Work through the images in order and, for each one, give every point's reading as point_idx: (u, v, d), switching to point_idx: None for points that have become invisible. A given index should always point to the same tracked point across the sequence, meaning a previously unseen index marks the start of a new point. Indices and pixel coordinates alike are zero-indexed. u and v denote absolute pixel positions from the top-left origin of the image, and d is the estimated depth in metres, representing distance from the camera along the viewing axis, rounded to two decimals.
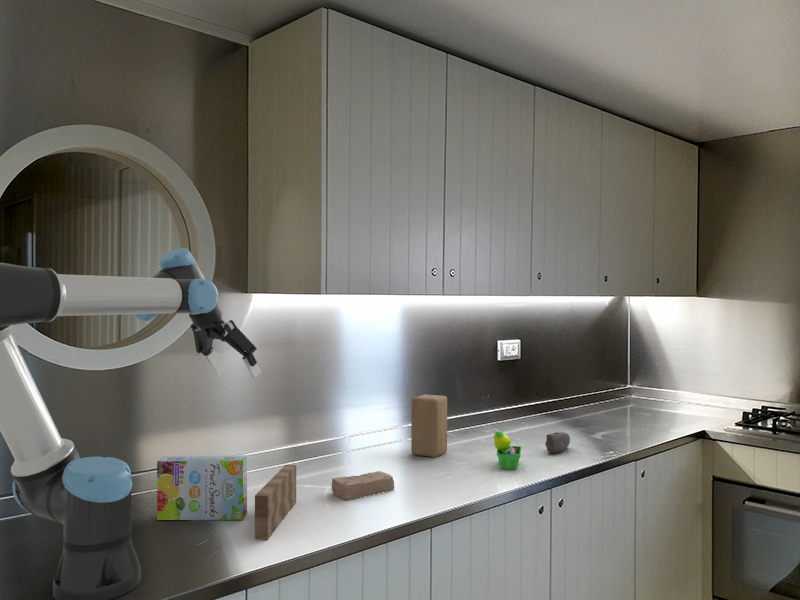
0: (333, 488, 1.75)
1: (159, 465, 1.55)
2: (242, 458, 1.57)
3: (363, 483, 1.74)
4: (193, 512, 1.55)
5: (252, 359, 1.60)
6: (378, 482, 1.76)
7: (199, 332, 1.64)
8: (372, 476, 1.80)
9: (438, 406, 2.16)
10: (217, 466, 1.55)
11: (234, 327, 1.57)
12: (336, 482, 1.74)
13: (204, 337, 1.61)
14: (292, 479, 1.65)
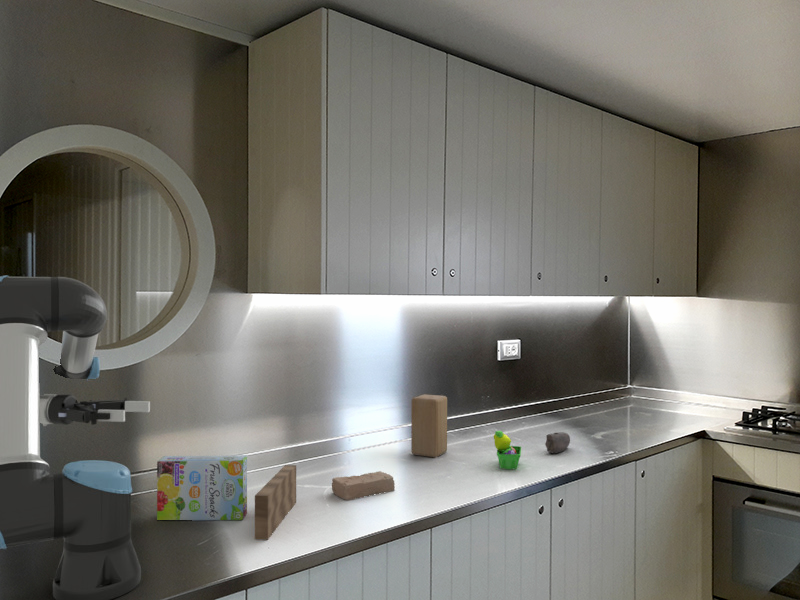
0: (333, 488, 1.75)
1: (159, 465, 1.55)
2: (242, 458, 1.57)
3: (363, 483, 1.74)
4: (193, 512, 1.55)
5: None
6: (379, 482, 1.76)
7: None
8: (372, 476, 1.80)
9: (438, 406, 2.16)
10: (217, 466, 1.55)
11: None
12: (336, 482, 1.74)
13: (80, 405, 1.57)
14: (292, 479, 1.65)
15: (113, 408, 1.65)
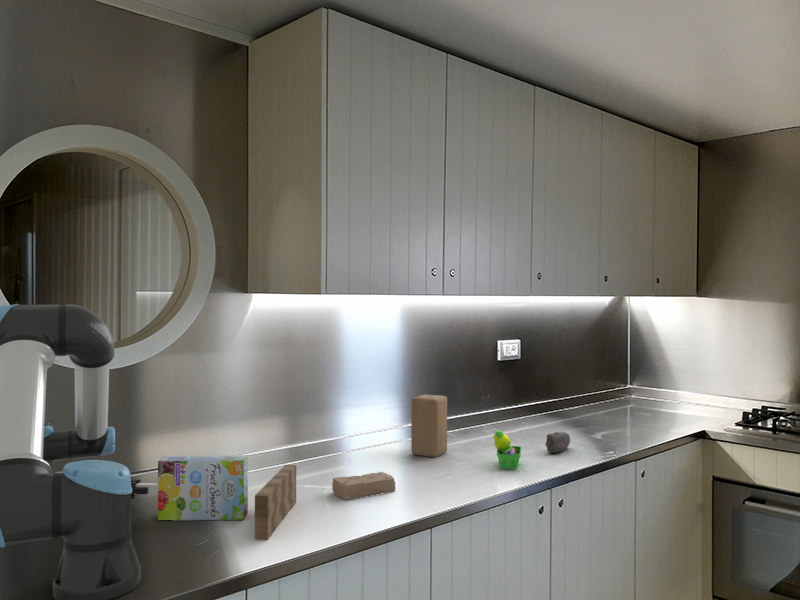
0: (333, 488, 1.76)
1: (160, 465, 1.55)
2: (243, 458, 1.57)
3: (362, 483, 1.73)
4: (194, 512, 1.55)
5: None
6: (379, 482, 1.76)
7: None
8: (373, 477, 1.79)
9: (438, 406, 2.16)
10: (218, 466, 1.55)
11: None
12: (336, 482, 1.75)
13: None
14: (292, 479, 1.65)
15: None
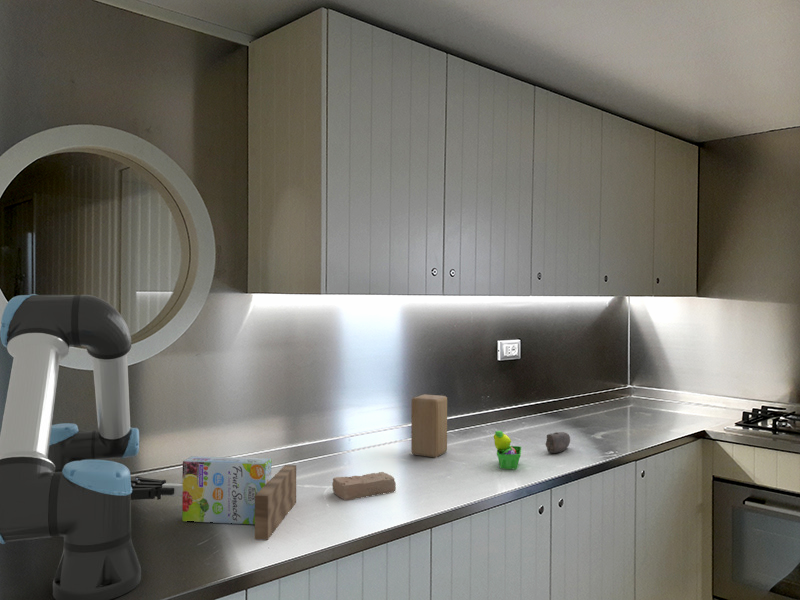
0: (333, 487, 1.76)
1: (184, 465, 1.54)
2: (265, 462, 1.53)
3: (362, 483, 1.73)
4: (216, 514, 1.53)
5: None
6: (379, 483, 1.75)
7: None
8: (374, 477, 1.79)
9: (438, 406, 2.16)
10: (240, 468, 1.52)
11: None
12: (336, 482, 1.75)
13: None
14: (292, 479, 1.65)
15: None
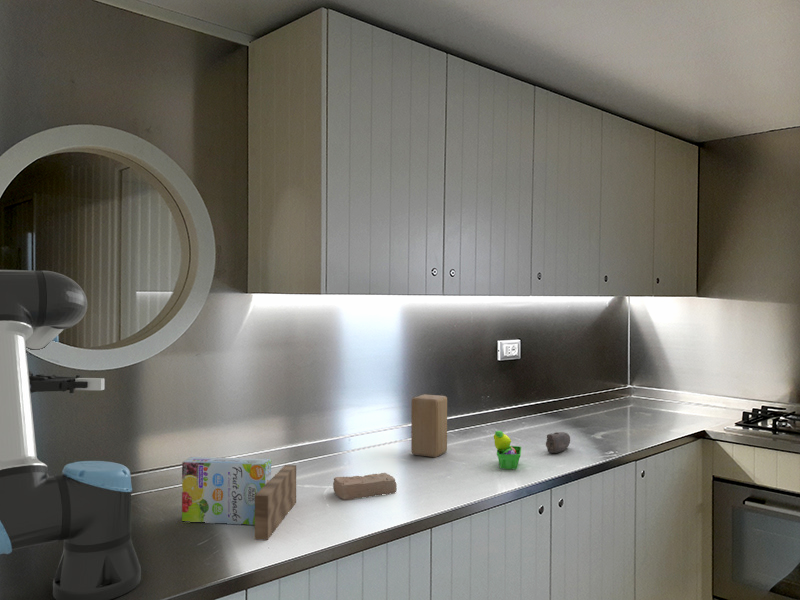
0: (334, 487, 1.76)
1: (184, 466, 1.54)
2: (265, 462, 1.53)
3: (362, 484, 1.73)
4: (216, 515, 1.53)
5: None
6: (379, 483, 1.75)
7: None
8: (375, 477, 1.79)
9: (438, 406, 2.16)
10: (240, 469, 1.52)
11: None
12: (336, 481, 1.75)
13: (41, 377, 1.51)
14: (292, 479, 1.65)
15: None
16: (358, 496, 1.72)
